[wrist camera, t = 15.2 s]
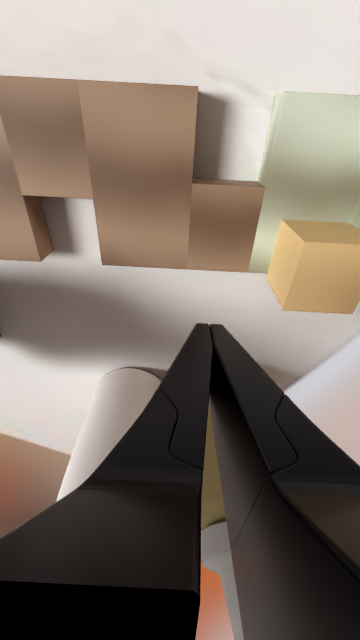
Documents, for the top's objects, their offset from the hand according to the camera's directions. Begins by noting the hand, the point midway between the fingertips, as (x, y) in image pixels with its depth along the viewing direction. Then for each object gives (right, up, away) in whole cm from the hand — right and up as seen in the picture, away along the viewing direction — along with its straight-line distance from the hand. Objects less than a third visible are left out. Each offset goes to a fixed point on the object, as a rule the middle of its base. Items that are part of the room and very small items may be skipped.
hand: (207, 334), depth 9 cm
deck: (-4, +9, +8) cm, 13 cm away
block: (+7, +5, +9) cm, 12 cm away
